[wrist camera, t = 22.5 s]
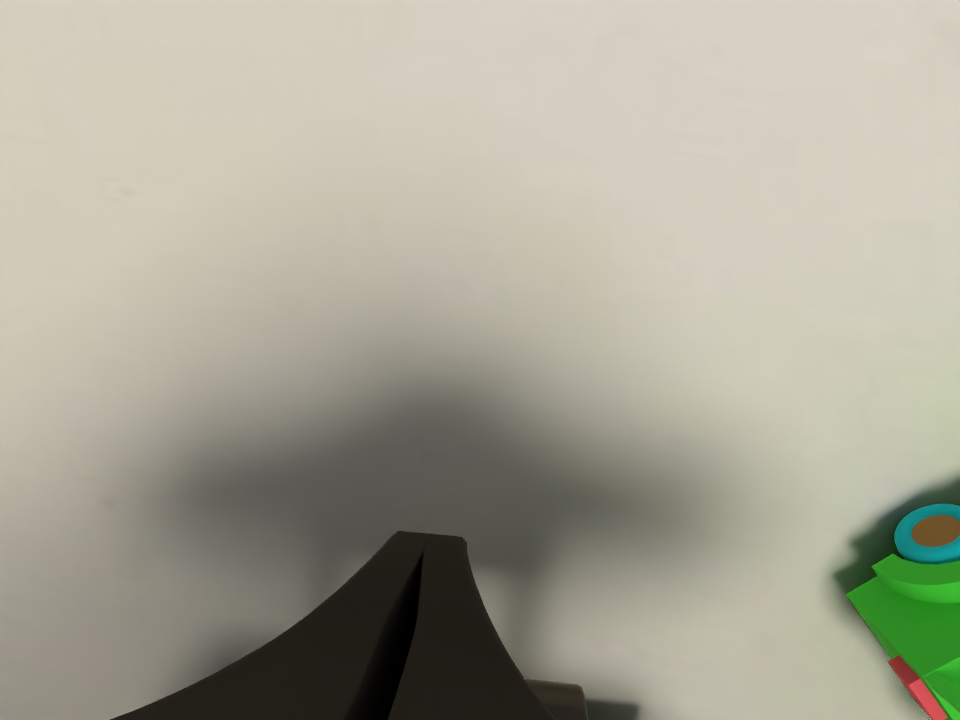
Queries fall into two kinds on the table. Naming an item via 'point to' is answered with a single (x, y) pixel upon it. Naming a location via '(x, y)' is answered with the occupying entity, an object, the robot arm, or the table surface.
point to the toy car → (920, 607)
